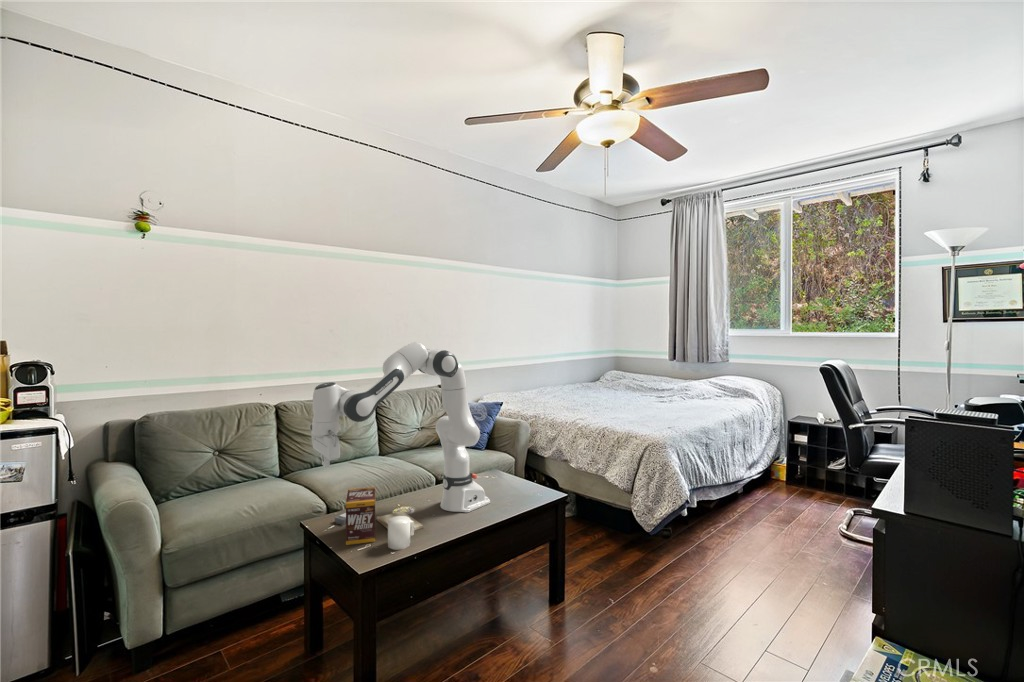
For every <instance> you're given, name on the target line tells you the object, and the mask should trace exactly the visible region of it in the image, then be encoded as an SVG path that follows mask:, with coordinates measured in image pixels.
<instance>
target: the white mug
mask: <svg viewBox="0 0 1024 682" xmlns="http://www.w3.org/2000/svg"><path fill="white" fill-rule="evenodd" d="M414 535H415V530H414V521H412V520H410V518H409V517H407V516H395V517H392V518H390V519H389V520H388V529H387V547H388V549H391V550H393V551H394V550H395V551H400V550H405V549H407V548H408V547H410V546H411V536H414Z"/></svg>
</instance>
